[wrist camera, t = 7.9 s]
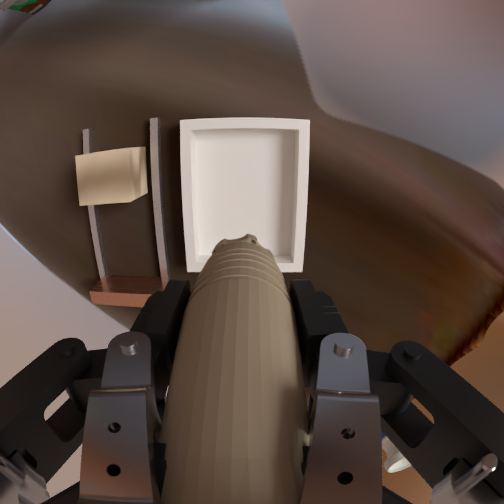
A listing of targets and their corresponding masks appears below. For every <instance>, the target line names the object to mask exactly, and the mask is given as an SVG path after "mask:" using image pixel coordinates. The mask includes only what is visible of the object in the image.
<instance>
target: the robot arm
mask: <svg viewBox="0 0 504 504" xmlns="http://www.w3.org/2000/svg"><path fill="white" fill-rule="evenodd" d="M289 293H290V296H291V300H292V304H293V308H294V313H295V317H296V324H297V331H298V338H299V345H300V353H301V360H302V368H303V376H304V385H305V387H309V389H310V397H309V401H308V415H309V434H308V436H309V438H310V440H309V446H302V449H303V462H304V463H301V471H302V474H303V480H302V485H301V491H300V497H299V502H298V504H412V503H411V502H409V501H407V500H406V499H404V498H402V497H401V496H399V495H397V494H396V493H394V492H393V491H391V490H389V489H388V488H386V487H385V486H383V485H382V437H381V431H382V432H383V433H384V434H385V435H386V436H387V437H388V439H389V440H390V441H391V442H392V443H393V444H394V446H395V447H396V448H397V449H398V450H399V451H400V452H401V454H402V455H403V456H404V457H405V458H406V459H407V460H408V462H409V463H410V464H411V465H412V466H413V467H414V468H415V469H416V471H417V472H418V473H419V474H420V475H421V476H422V477H423V479H424V480H425V481H426V482H427V483H428V484H429V485H430V486H431V488H432V489H433V490H432V499H431V501H430V504H504V413H503V412H502V411H501V410H500V409H499V408H497V407H496V406H495V405H494V404H493V403H492V402H491V401H489V400H488V399H487V398H486V397H484V396H483V395H482V394H481V393H480V392H479V391H478V390H476V389H475V388H474V387H473V386H472V385H471V384H469V383H468V382H467V381H466V380H465V379H464V378H462V377H461V376H460V375H459V374H457V373H456V372H455V371H454V370H453V369H451V368H450V367H449V366H448V365H447V364H445V363H444V362H443V361H442V360H441V359H439V358H438V357H437V356H436V355H434V354H433V353H432V352H431V351H429V350H428V349H427V348H426V347H424V346H423V345H421V344H419V343H417V342H413V341H400V342H398V343H396V344H395V345H394V346H393V347H392V349H391V352H390V353H386V352H377V351H370V350H367V349H366V347H365V345H364V343H363V342H362V341H361V340H360V339H359V338H357V337H356V336H354V335H351V334H349V333H348V331H347V329H346V327H345V325H344V323H343V320H342V318H341V316H340V314H338V310H337V308H336V307H335V304H334V302H333V300H332V298H331V297H330V296H328V295H327V294H326V293H325V292H323V291H315V290H314V287H313V285H312V283H311V281H310V279H303V280H291V282H290V292H289ZM190 295H191V291H190V283H189V280H188V279H170V280H169V281H168V283H167V285H166V287H165V289H164V291H156V292H155V293H154V294H152V295H151V296H149V297H148V299H147V301H146V302H145V304H144V306H143V308H142V310H141V313H139V315H138V317H137V319H136V320H135V322H134V324H133V326H132V328H131V329H130V331H129V332H125V333H122V334H119V335H117V336H116V337H114V338H113V339H112V340H111V341H110V343H109V345H108V348H107V349H100V350H90V351H87V349H86V347H85V344H84V343H83V341H81V340H80V339H77V338H66V339H62V340H60V341H58V342H56V343H55V344H54V345H52V346H51V347H50V348H48V349H47V350H46V351H45V352H43V353H42V354H41V355H40V356H38V357H37V358H36V359H35V360H34V361H32V362H31V363H30V364H29V365H27V366H26V367H25V368H24V369H23V370H21V371H20V372H19V373H18V374H16V375H15V376H14V377H13V378H12V379H11V380H9V381H8V382H7V383H6V384H5V385H4V386H2V387H1V388H0V504H161V500H160V499H161V494H162V489H163V484H164V478H165V473H166V468H167V462H166V460H165V450H166V443H159V438H160V431H161V425H162V420H163V414H164V409H165V403H166V398H167V397H166V391H167V387H168V386H169V383H170V377H171V372H172V367H173V362H174V357H175V352H176V347H177V342H178V337H179V333H180V328H181V324H182V319H183V314H184V312H185V309H186V306H187V303H188V300H189V297H190ZM64 390H66V391H67V393H68V395H69V397H70V398H69V399H68V400H67V401H66V402H65V403H64V404H63V405H62V406H61V407H60V408H59V409H58V410H57V411H56V412H55V413H54V414H53V415H52V416H51V417H50V418H49V419H48V420H46V421H45V419H44V411H45V409H46V408H47V406H49V405H50V404H51V402H53V401H54V400H55V399H56V398H57V397H58V396H59V395H60V394H61V393H62V392H63V391H64ZM413 396H414V397H415V398H416V399H417V400H418V401H419V402H420V403H421V404H422V405H423V406H424V407H425V408H426V409H427V410H428V411H429V412H430V413H431V414H432V416H433V418H434V424H433V423H432V422H431V421H430V420H429V419H428V418H427V417H426V416H425V415H424V414H423V413H422V412H421V411H420V410H419V409H418V408H417V407H416V406H415V405H414V404H413V403H412V402H411V400H412V398H413ZM82 443H83V444H82ZM81 444H82V456H81V470H80V471H81V472H80V481H79V482H77V483H76V484H74V485H73V486H70V487H69V488H67V489H66V490H64V491H62V492H60V493H59V494H57V495H55V496H53V497H51V498H50V496H49V493H48V491H47V490H46V483H47V482H48V481H49V480H50V479H51V478H52V477H53V476H54V474H55V473H56V472H57V471H58V469H60V468H61V467H62V465H63V464H64V463H65V462H66V461H67V460H68V459H69V457H70V456H71V455H72V454H73V453H74V452H75V451H76V450H77V448H78V447H79V446H80V445H81ZM49 498H50V499H49Z"/></svg>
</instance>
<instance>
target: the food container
mask: <svg viewBox="0 0 504 504" xmlns="http://www.w3.org/2000/svg"><path fill="white" fill-rule="evenodd" d="M50 1H51V0H4V1H3V2H2V3H0V9H1V10H3V11H5V10H6V9H13V10H17V11H22V12H26V13H30V14H35V13H37V12H38V11H40V10H41V9H42V8H44V7H45V6H46V5H47V4H48V3H49V2H50Z"/></svg>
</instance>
